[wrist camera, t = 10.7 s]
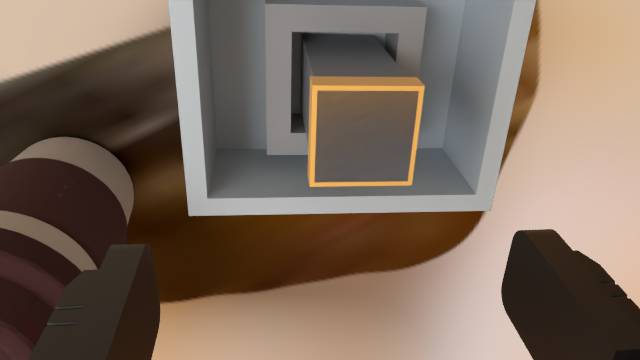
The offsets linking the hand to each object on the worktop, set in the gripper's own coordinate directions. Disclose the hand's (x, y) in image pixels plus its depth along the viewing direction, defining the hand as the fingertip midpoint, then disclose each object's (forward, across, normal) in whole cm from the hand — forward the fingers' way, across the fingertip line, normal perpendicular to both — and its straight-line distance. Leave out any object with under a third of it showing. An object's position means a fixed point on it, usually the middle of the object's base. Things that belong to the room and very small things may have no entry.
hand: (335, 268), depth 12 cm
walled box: (+21, -2, 0) cm, 21 cm away
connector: (+20, -2, +2) cm, 20 cm away
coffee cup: (+21, +14, +9) cm, 27 cm away
